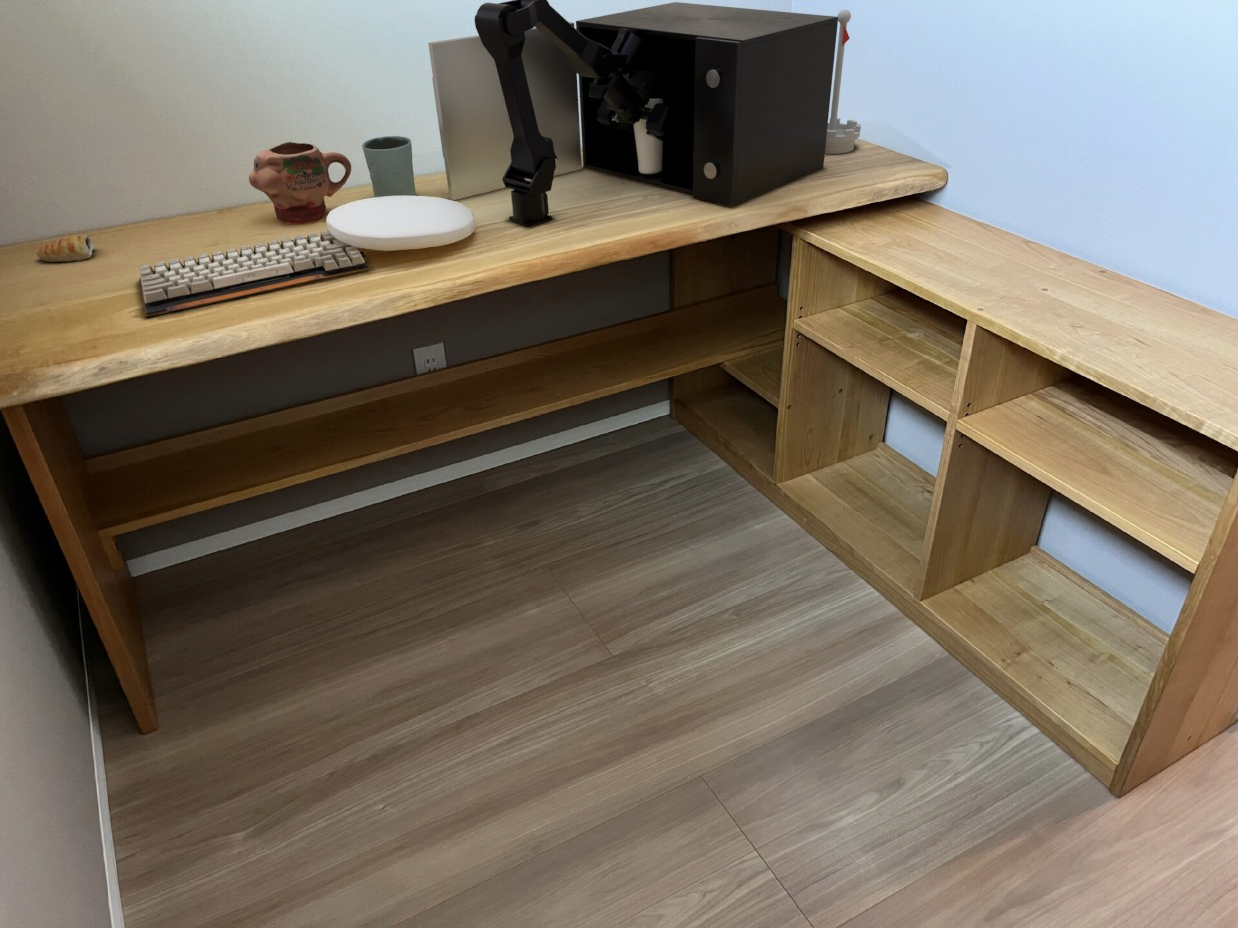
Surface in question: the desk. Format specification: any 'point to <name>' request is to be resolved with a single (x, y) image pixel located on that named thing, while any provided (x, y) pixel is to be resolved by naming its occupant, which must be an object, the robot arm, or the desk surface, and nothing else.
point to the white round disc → (401, 222)
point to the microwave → (721, 98)
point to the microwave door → (499, 110)
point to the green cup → (390, 165)
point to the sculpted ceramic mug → (297, 180)
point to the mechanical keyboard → (245, 271)
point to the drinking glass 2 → (648, 146)
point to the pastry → (67, 249)
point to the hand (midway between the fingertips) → (653, 137)
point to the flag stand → (838, 133)
